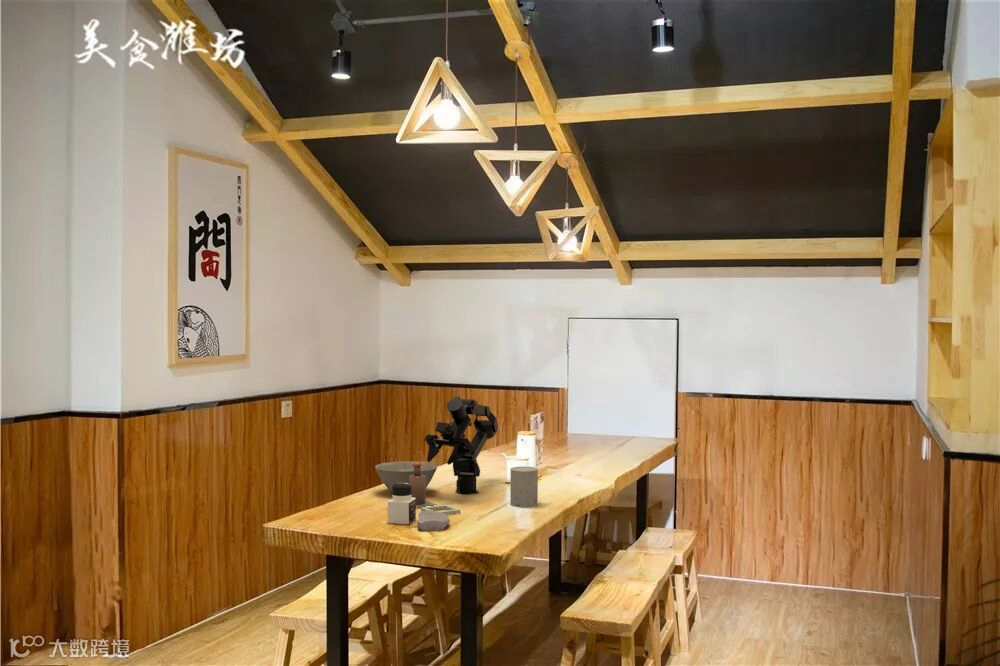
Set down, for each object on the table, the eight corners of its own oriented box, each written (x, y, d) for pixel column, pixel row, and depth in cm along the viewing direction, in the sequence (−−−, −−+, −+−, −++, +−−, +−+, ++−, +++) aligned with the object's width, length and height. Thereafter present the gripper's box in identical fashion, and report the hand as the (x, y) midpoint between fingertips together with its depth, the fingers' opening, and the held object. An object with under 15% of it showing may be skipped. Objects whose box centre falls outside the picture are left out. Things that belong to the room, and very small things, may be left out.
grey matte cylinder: (518, 508, 303) (518, 472, 303) (505, 503, 312) (505, 467, 312) (543, 505, 308) (543, 469, 308) (529, 500, 316) (529, 465, 316)
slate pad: (423, 500, 316) (423, 499, 316) (436, 505, 307) (436, 504, 307) (397, 503, 311) (397, 502, 310) (410, 509, 302) (410, 507, 302)
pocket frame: (446, 508, 304) (446, 504, 304) (460, 513, 296) (460, 509, 295) (421, 511, 299) (421, 507, 299) (434, 516, 291) (434, 513, 291)
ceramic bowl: (428, 500, 316) (428, 472, 316) (366, 497, 321) (366, 469, 321) (444, 488, 338) (444, 461, 338) (385, 486, 343) (385, 459, 342)
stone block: (447, 527, 284) (416, 522, 283) (450, 513, 284) (419, 507, 283) (448, 538, 272) (415, 532, 271) (451, 523, 272) (418, 517, 271)
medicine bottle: (409, 524, 280) (409, 486, 279) (387, 523, 281) (387, 485, 281) (416, 519, 287) (416, 482, 286) (394, 518, 288) (394, 481, 288)
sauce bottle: (425, 501, 312) (424, 461, 312) (425, 504, 306) (425, 463, 306) (409, 501, 311) (409, 461, 311) (409, 505, 306) (409, 464, 306)
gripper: (427, 411, 324) (407, 445, 315) (468, 415, 313) (447, 450, 304) (442, 431, 330) (422, 465, 322) (482, 435, 319) (462, 470, 310)
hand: (437, 462), depth 314 cm, fingers open, 9 cm apart
